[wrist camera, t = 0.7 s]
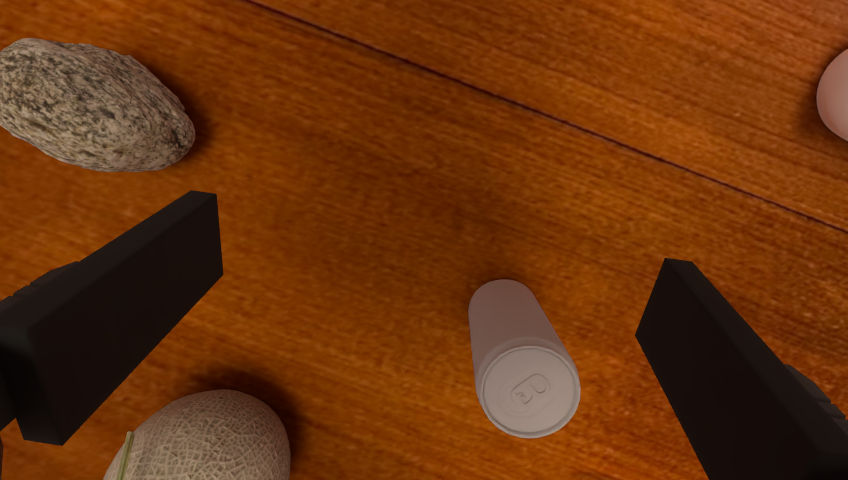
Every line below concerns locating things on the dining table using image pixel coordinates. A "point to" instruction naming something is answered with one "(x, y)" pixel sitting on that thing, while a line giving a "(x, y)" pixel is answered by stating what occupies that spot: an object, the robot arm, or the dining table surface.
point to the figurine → (835, 96)
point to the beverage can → (520, 362)
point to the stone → (91, 107)
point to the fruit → (206, 441)
